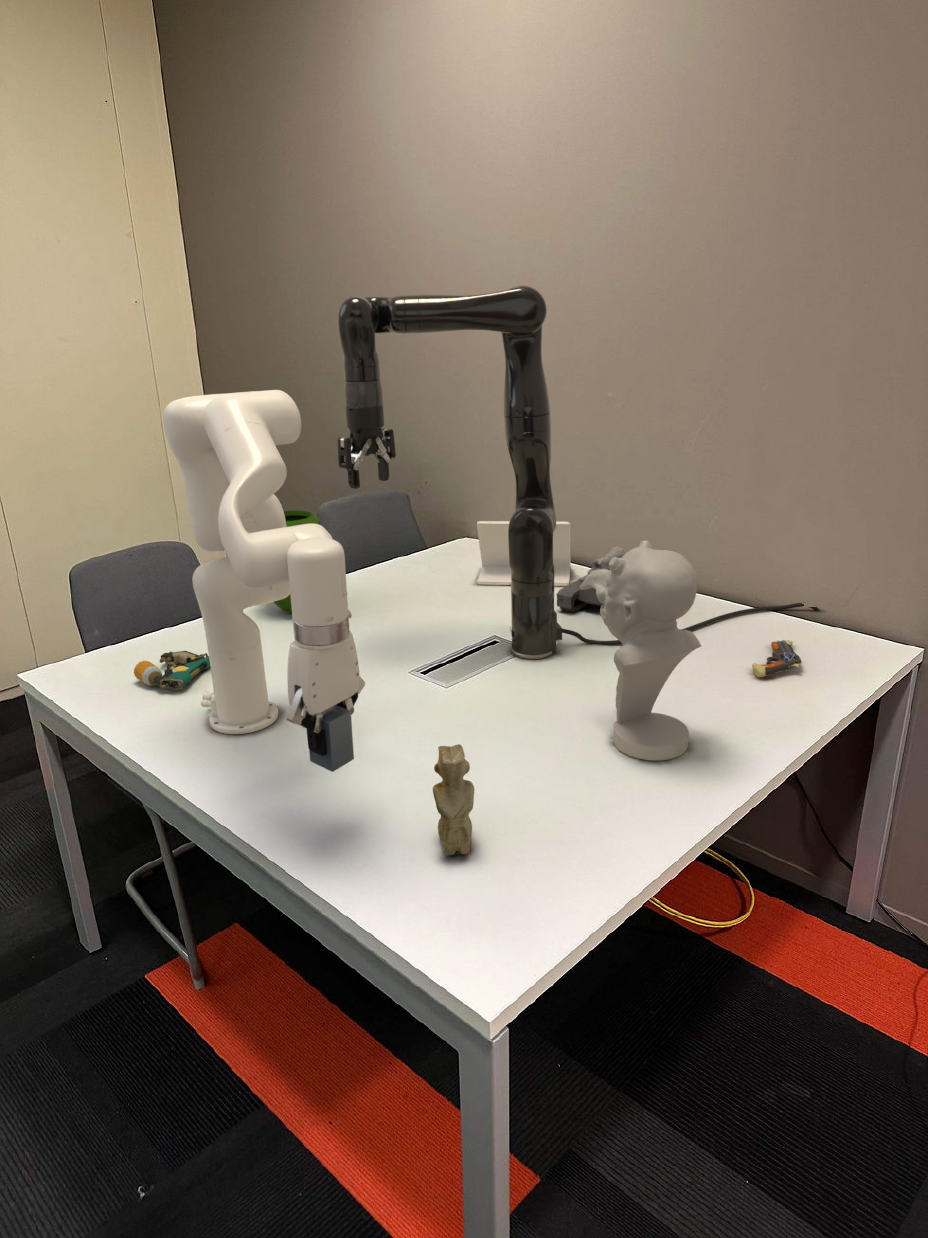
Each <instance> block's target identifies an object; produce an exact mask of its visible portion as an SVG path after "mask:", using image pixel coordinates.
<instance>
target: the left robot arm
mask: <svg viewBox="0 0 928 1238" xmlns="http://www.w3.org/2000/svg"><path fill="white" fill-rule="evenodd" d="M162 415H163V417H162V420H163V430H164V433H165V437H166V440H167V443H168V445H169V447H170V450H171V451H172V453H173V456H174V457H175V459H176V461H177V463H178V464H179V467H180V470H181V472H182V475H183V479H184V485H185V492H186V497H187V502H188V509H189V515H190V522H191V527H192V531H193V536H194V539H195V541H196V544H197V545H198V547H199V548H200V549H202V550H203V551H206V552H222V551H223V552H225V554H226V556H223V557H218V558H214V559H210V560H207V561H204V562H203V563H201V564H200V565H198V566H197V568H196V569H195V570H194V572H193V573H192V578H191V579H192V587H193V592H194V595H195V598H196V600H197V604H198V607H199V611H200V615H201V618H202V622H203V627H204V633H205V638H206V646H207V652H208V653H207V654H208V656H209V660H210V666H209V667H210V673H211V681H212V686H213V692H212V691H204V692H203V694H202V699H201V701H200V706H201V707H203V708H210V709H211V714H210V716H209V719H208V720H209V725H210V727H211V728H212V729H213V730H214V731H216V732H218V733H221V734H225V735H244V734H249V733H254V732H257V731H260V730H263V729H265V728H267V727H269V726H271V725H273V723H275V721H276V720H277V719H278V717H279V709H278V707H277V705H276V704H275V703H273V702H271V701H269V695H268V686H267V679H266V671H265V662H264V654H263V645H262V638H261V632H260V631H261V630H260V628H259V626H258V624H257V623H256V622H255V621H254V620H253V619H252V618H251V617H250V616H248V615H247V614H246V613H244V610H245V609H248V608H252V607H255V606H259V605H260V606H261V605H264V604H268V603H274V601H278V600H282V599H284V598H286V597H288V596H289V595H290V596H291V607H292V614H291V616H292V627H293V638H294V641H292V642H290V644H289V650H288V657H287V698H288V704H289V706H290V707H289V709H288V712H287V714H286V717H285V719H286V721H287V722H290V723H292V724H294V725H298V726H301V727H302V728H304V729H306V738H307V747H308V751H309V750H310V751H312V752H314V753H317V754H319V755H321V756H324V755H326V753H327V748H326V736H325V731H324V730H322V719H323V711H324V710H326V709H328V708H330V707H332V706H334V705H337V706H340V707H342V708H345V709H347V710H350V711H351V716H352V715H353V714H354V712H355V705H356V702H357V700H359V699H358V698H359V695H360V694H361V692H362V691H363V689H364V688H365V686H366V681H365V680H364V679H363V678H362V677H361V676H360V664H359V658H358V651H357V647H356V643H355V639H354V635H353V632H352V631H351V630H350V619H352V616H353V615H352V612H351V610H350V609H349V601H348V600H349V599H348V587H347V586H348V585H347V573H346V572H347V571H346V555H345V550H344V547H343V546H342V544H341V543H340V542H339V541H337V540H335V539H333V537H332V535H331V534H330V533H329V532H328V530H327V529H326V528H325V527H324V526H323V525H321V524H320V525H319V524H302V525H296V526H291V527H287V526H286V520H285V515H284V511H285V510H284V509H283V505H282V503H281V502H280V501H281V500H279V498H278V497H277V495H275V493H277V492H278V491H280V489H281V487H282V486H283V485H284V484H285V482H286V478H287V476H288V475H287V474H288V471H287V466H286V463H285V460H283V458H282V455H281V454H280V452H279V450H278V448H277V446H284V445H290V444H293V443H296V441H298V439H299V437H300V435H301V432H302V418H301V417H302V416H301V413H300V410H299V408H298V406H297V404H296V402H295V401H294V399H293V398H292V397H291V396H290V395H289V394H288V393H287V392H285V391H283V390H280V389H268V390H252V391H240V392H239V391H238V392H228V393H211V394H202V395H193V396H187V397H181V398H178V399H174V400H172V401H171V402H169V403H168V404H167V405H166V407H165V408H164V410H163V414H162ZM312 715H314V721H312V720H311V716H312Z"/></svg>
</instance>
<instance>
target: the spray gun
mask: <svg viewBox="0 0 928 1238" xmlns="http://www.w3.org/2000/svg"><path fill="white" fill-rule="evenodd" d="M158 662H159V663H161V664H163V663H165V664H166V668H165V670H163V672H164V674H163V673H162V669H160V668H159V666H157V665H156V664H154V663H152V662H151V661H149V660H141V661H139V662H138V663H136V665H135V666H134V668H133V675H134V677H135V678H136V679H137V680H139V681H140V682H142V683H143V684H145V685H147V686H155V685H157V686H158V687H160V688H161V689H171V690H172V689H173V690H182V689H184V687H185V686H186V685H188V684H189V683H190V682H191V681H192V679H193V678H195V677H196V676H197V675H198V674H200V673H201V672H202V671H203V670H206V669H208V668H209V667H210V660H209V653H207V652H205V653H201V654H197V653H194V652H192V651H191V652H190V651H188V650H180V651H169V652H164V653H162V654H161V655H160V658H159V660H158ZM178 663H179V664H181V665H179V666H176V665H177V664H178Z"/></svg>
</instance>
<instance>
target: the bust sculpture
mask: <svg viewBox="0 0 928 1238" xmlns="http://www.w3.org/2000/svg"><path fill="white" fill-rule="evenodd" d="M609 569H610V570H606V569H600V570H595V571H593V572H591V573H590V574H589V575H588V576H587V577H586V579H585V580H584V581H583V583H582V584H581V585H580V587H579V588H580V590H585V589H590V588H594V589H596V595H597V598H598V600H599V601H600V602H601V603H603V605H602V606H600V610H599V614H600V617H601V618H602V620H603V623H604V625H605V626H606V627H607V629H608V631H609V632H610V634H611V635H612V636H614V637H615V638H616V640H619V641H620V642H622V644H621V646H620V647H619V648H617V649H616V651H615V652H614V654H613V662H614V666H615V668H616V670H617V671H618V673H619V674H618V678H617V682H616V688H615V693H616V694H615V710H616V721H615V722H614V724H613V732H612V733H613V734H612V741H613V742H612V743H613V745H614V746H615V748H617V750H619V751H620V752H622V753H623V754H625V755H627V756H630V757H631V758H634V759H635V758H636V759H639V760H646V761H666V760H671V759H675V758H678V757H680V756H682V755H683V754H684V753H686V751H687V749H688V747H689V735H690V733H689V732H690V731H689V728H688V726H687V725H686V724H685V723H684V722H683V721H681V720H680V719H678V718H676V717H673V716H671V715H667V714H664V713H660V712H652V711H653V708H654V706H655V703H656V701H657V699H658V697H659V694H660V693H661V691H662V689H663V688H664V686H665V684H666V682H667V681H668V679H669V678H670V676H671V675H672V673H673V672H674V671H675V669H676V668H677V666H678V665H679V664H680V663H681V662H682V661H683V660H684V659H685V658H686V657H687V656H688V655H690V654H691V653H692V652H694V651H695V650H697V649H699V648H702V644H701V642H700V641H699V640H700V639H698V637H697V636H696V634H695V633H694V632H693V631H692V630H691V631H688V630H683V629H684V628H682V629H680V628H678V621H677V620H679V619H680V618H682V617H683V616H685V615H686V614H687V613H688V612H689V611H690V610H691V608H692V607H693V605H694V603H695V600H696V597H697V592H698V576H697V573H696V571H695V568H694V567H693V565H692V564H691V562H690V561H689V560H688V559H686V558H685V556H684V555H683V554H681V553H678V552H676V551H672V550H666V549H655V548H653V546H652V543H651V542H650V541H649V540H640V543H639V546H637V547H633V548H632V549H630V550H629V551H627V552H625V555H624V556H623V557H622V558H617V557H614V558H612V559H611V560H610V562H609Z"/></svg>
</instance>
